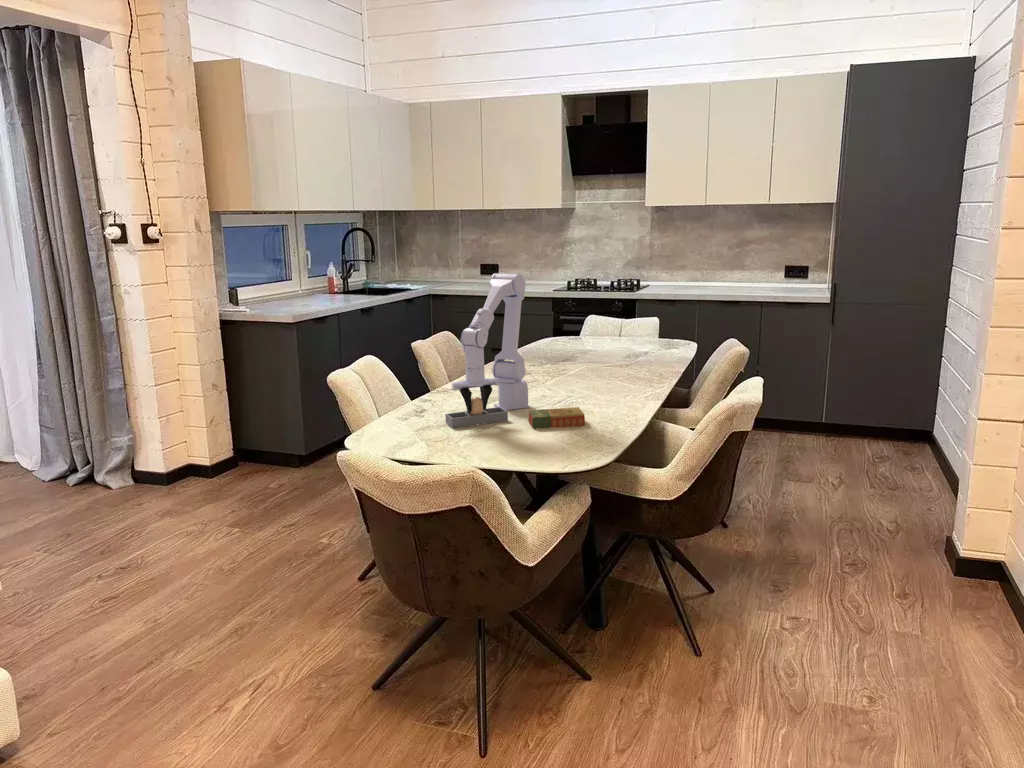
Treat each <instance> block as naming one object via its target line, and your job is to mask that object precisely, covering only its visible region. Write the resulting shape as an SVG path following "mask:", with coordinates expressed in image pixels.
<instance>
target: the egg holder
mask: <svg viewBox="0 0 1024 768" xmlns="http://www.w3.org/2000/svg"><path fill="white" fill-rule="evenodd" d="M501 421H503V422H508V421H509V410H504V409H503V408H501V407H496V406H495V407H489V408H487V407H486V410H483V414H482V415H474V416H471V415H470V412H468V411H467V410H466V411H457V412H449V413H445V424H446V423H447V424H448V425H447V424H446V425H447V426H448V427H449V428H451V427H452V428H451V429H456V428H455V427H459V428H463V427H462V426H467V427H470V426H469V425H474V426H478V425H477V424H481V425H486V424H485V423H488V424H494V423H493V422H496V423H502V422H501Z"/></svg>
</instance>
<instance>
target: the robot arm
mask: <svg viewBox="0 0 1024 768" xmlns="http://www.w3.org/2000/svg"><path fill="white" fill-rule="evenodd" d="M489 289H490V290H489V292H488V294H487V297H486V300H485V302H484V305H483V307H482V308H479V309H478V310H477V311H476V313H475V315H474V316H473V319H472V321H471V323H469V326H468V327H466V328H465V329H463V331H462V332H461V335H460V338H459V340H460V343H461V345H462V351H463V353H464V357H465V358H464V359H465V360H464V361H465V365H464V366H465V380H461V381H457V382H452V383H451V390H453V391H459V393H460V394H461V396H462V398H463V400H464V404H465V408H466V411H468V412H471V399H472V393H473V392H472V391H471V389H474V388H479V390H480V392H479V393H480V398H481V399H482V401H483V410H486V409H487V406H488V401H489V398H490V396H491V394H492V392H493V387H492V386H497V387H498V388H497V389H498V403H495V404H494V406H495V407H501V408H503V409H504V410H506V411H509V410H510V411H511V410H519V409H526V408H530V406H529V387H528V386H529V385H528V382H527V381H526V380H525V379H524V377H525V375H526V366H525V357H523V356H522V355H521V354H520V353H519V352H518V349H519V348H518V347H519V336H520V326H521V310H522V301H523V300H524V299H525V292H526V280H525V278H524V277H523V275H522V274H521V273H498V272H495V273H493V274H492V275H491V278H490V280H489ZM502 300H503V302H504V303H505V305H504V306H505V307H504V318H503V330H502V331H503V332H502V342H501V343H502V344H501V351H499V353H498V354H496V355H495V356H494V361H493V364H492V367H491V370H492V371H491V373H492V376H493V378H492V377H491V378H485V377H486V376H485V375H486V374H485V352H484V349H485V348H484V347H486V344H487V343H488V337H489V330H490V328H491V326H492V324H493V321H494V320H495V315H494V313H495V311H496V309H497V308H498V307H499V305H500V304H501V301H502Z"/></svg>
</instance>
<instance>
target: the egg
mask: <svg viewBox="0 0 1024 768" xmlns="http://www.w3.org/2000/svg"><path fill="white" fill-rule="evenodd" d="M482 414H483V401H482V399H481V396H473V397H471V412H470V415H471V416H474V415H482Z"/></svg>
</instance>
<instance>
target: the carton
mask: <svg viewBox="0 0 1024 768" xmlns="http://www.w3.org/2000/svg"><path fill="white" fill-rule="evenodd" d="M585 417H586V416H585V413H584V411H583V410H582V409H581V408H580V407H577V406H575V407H563V408H547V409H545V408H544V409H534V410H533V409H532V410H531V409H530V410H528V418H527V419H528V421H529V422H528V424H529V425H530V427H531V426H532V427H531V428H532V429H533V428H534V429H533V430H536V428H541V429H551V428H550V427H557V428H570V427H571V428H572V426H574V427H586V426H585V425H586V420H585Z"/></svg>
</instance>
